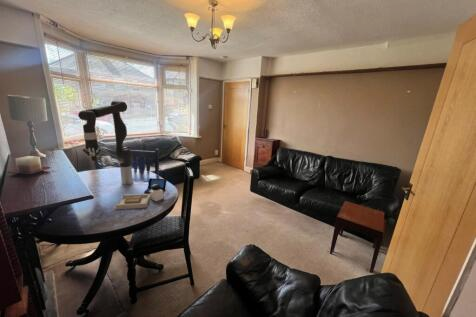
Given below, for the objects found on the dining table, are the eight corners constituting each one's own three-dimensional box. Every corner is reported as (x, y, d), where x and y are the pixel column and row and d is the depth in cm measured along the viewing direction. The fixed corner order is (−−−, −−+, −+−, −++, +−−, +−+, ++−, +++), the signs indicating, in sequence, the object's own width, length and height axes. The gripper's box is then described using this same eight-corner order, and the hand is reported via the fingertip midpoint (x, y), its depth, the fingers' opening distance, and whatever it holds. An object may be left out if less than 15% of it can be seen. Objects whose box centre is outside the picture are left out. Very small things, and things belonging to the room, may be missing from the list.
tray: (123, 198, 161) (123, 194, 160) (150, 197, 166) (150, 193, 165) (115, 209, 145) (115, 205, 144) (146, 207, 150) (146, 203, 149)
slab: (127, 196, 157) (141, 196, 159) (127, 200, 158) (141, 199, 160) (124, 201, 149) (138, 200, 152) (124, 205, 150) (139, 204, 152)
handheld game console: (143, 193, 171) (142, 183, 169) (149, 187, 184) (149, 178, 182) (162, 194, 172) (161, 184, 169) (167, 188, 185) (166, 178, 182)
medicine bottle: (163, 198, 165) (162, 184, 162) (156, 201, 159) (155, 187, 156) (157, 196, 168) (157, 182, 165) (150, 199, 162) (149, 185, 159)
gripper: (102, 137, 153) (105, 159, 158) (83, 137, 150) (86, 159, 155) (98, 139, 146) (102, 161, 151) (77, 139, 143) (82, 162, 148)
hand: (94, 160), depth 153 cm, fingers closed
